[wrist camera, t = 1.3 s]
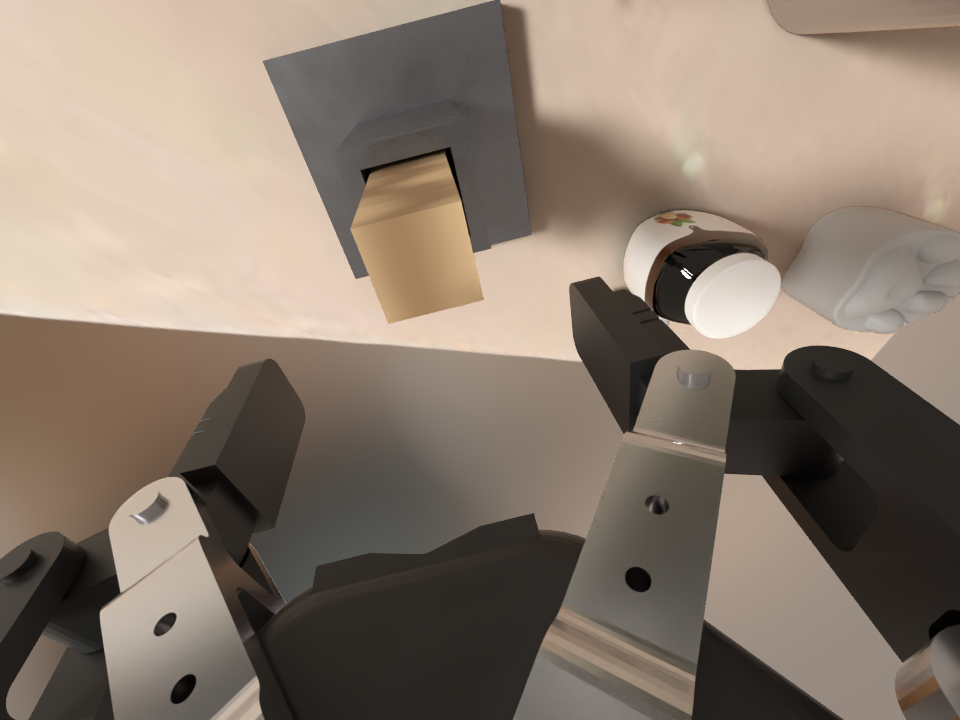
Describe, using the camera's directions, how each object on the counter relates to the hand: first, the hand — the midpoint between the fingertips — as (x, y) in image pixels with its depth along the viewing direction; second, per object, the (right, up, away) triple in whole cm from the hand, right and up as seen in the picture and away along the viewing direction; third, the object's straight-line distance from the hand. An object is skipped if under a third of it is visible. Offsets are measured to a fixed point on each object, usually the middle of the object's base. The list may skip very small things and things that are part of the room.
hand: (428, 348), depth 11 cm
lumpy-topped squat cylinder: (+41, +11, +34) cm, 54 cm away
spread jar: (+19, +9, +31) cm, 38 cm away
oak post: (-3, +15, +21) cm, 26 cm away
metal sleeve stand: (-4, +16, +22) cm, 28 cm away
